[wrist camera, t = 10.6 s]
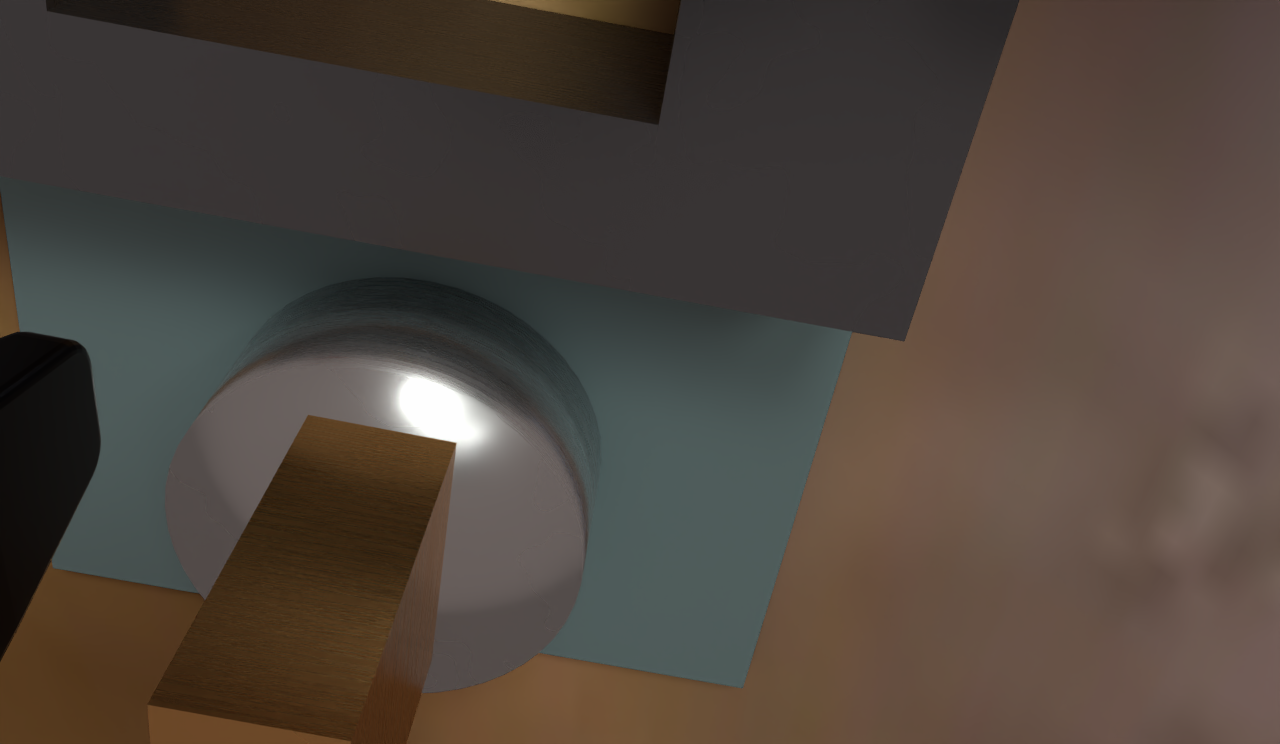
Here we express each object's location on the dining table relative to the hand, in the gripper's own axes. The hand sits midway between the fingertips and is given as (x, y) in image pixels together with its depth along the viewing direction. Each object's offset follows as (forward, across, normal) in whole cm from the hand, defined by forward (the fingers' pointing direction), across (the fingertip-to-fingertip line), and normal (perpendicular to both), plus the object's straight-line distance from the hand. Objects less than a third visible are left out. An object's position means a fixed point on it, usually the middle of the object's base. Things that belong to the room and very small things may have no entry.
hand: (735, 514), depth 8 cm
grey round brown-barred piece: (+12, +5, +9) cm, 16 cm away
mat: (+12, +5, +9) cm, 16 cm away
